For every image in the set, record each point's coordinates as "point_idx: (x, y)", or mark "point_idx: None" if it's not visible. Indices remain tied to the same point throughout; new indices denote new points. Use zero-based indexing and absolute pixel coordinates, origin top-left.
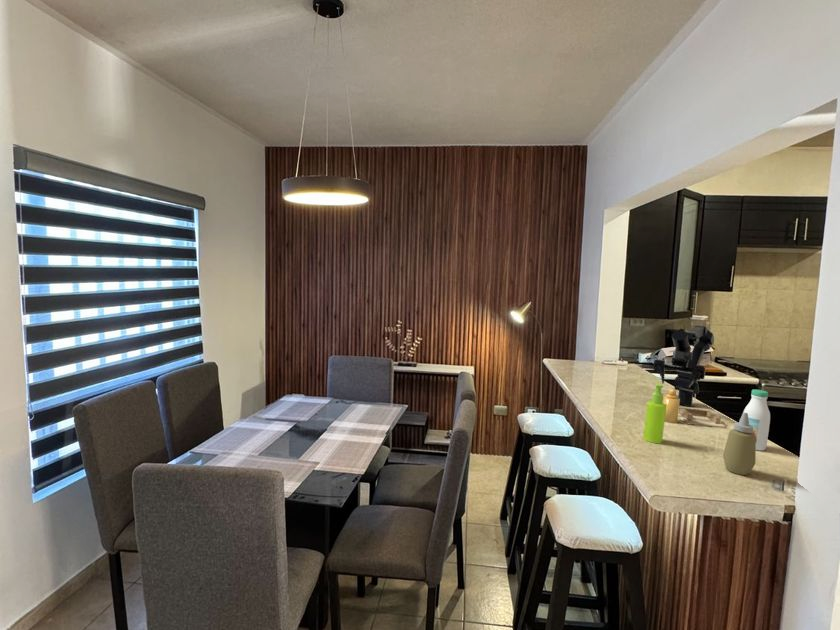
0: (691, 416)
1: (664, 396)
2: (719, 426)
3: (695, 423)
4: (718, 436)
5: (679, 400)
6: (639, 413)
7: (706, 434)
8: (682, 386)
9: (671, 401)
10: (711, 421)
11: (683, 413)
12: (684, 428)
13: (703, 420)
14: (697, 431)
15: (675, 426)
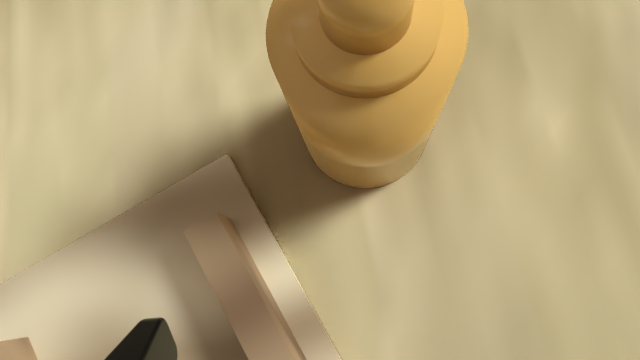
0: (196, 226)
1: (457, 2)
2: (2, 284)
3: (170, 187)
4: (12, 31)
5: (269, 32)
6: (624, 129)
7: (84, 6)
8: None
9: None
10: None
11: (284, 330)
12: (229, 16)
13: None
14: (142, 23)
15: None
